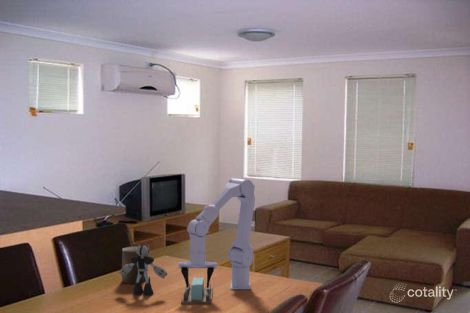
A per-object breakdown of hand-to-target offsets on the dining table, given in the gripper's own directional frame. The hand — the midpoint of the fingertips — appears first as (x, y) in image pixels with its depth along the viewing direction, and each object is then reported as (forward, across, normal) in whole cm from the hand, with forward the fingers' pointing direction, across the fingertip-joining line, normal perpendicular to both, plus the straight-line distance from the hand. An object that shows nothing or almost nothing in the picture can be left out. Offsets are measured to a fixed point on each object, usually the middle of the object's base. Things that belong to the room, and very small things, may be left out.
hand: (197, 286), depth 191 cm
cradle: (+4, 0, 0) cm, 4 cm away
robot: (+4, -22, +4) cm, 22 cm away
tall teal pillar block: (+3, 0, 0) cm, 3 cm away
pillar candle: (+4, -28, +21) cm, 36 cm away
